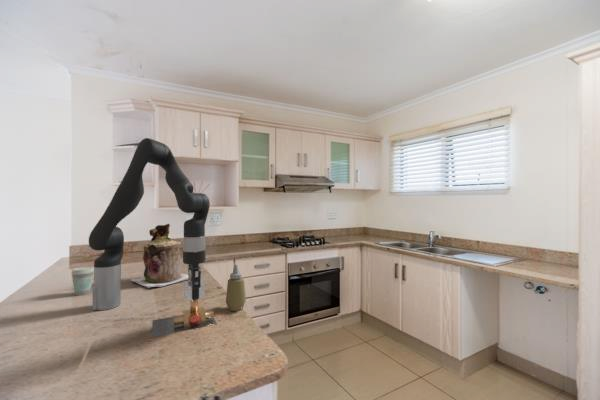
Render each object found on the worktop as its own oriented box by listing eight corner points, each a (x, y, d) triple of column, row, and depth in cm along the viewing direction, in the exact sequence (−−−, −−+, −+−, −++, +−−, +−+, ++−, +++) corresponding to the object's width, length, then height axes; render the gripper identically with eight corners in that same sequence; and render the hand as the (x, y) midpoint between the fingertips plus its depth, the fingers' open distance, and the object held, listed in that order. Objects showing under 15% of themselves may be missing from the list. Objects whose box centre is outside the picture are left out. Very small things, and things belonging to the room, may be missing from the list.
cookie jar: (172, 272, 169) (172, 221, 169) (195, 279, 154) (195, 223, 155) (128, 282, 149) (129, 223, 149) (150, 290, 134) (151, 226, 135)
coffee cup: (71, 297, 124) (71, 271, 124) (70, 293, 130) (71, 268, 130) (94, 293, 130) (94, 268, 130) (93, 289, 136) (93, 265, 136)
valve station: (152, 340, 86) (152, 310, 86) (152, 323, 98) (152, 296, 98) (217, 326, 95) (217, 299, 95) (210, 312, 107) (210, 288, 108)
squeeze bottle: (249, 306, 114) (249, 263, 114) (239, 313, 106) (239, 267, 106) (232, 304, 116) (232, 262, 117) (221, 311, 109) (221, 266, 109)
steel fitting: (186, 300, 92) (186, 286, 92) (184, 295, 98) (184, 281, 98) (204, 298, 95) (204, 283, 95) (201, 292, 100) (201, 279, 100)
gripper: (181, 247, 101) (181, 292, 101) (184, 253, 88) (184, 305, 88) (202, 245, 105) (202, 289, 104) (208, 251, 92) (208, 301, 92)
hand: (194, 296), depth 96 cm, fingers closed on steel fitting, 6 cm apart
